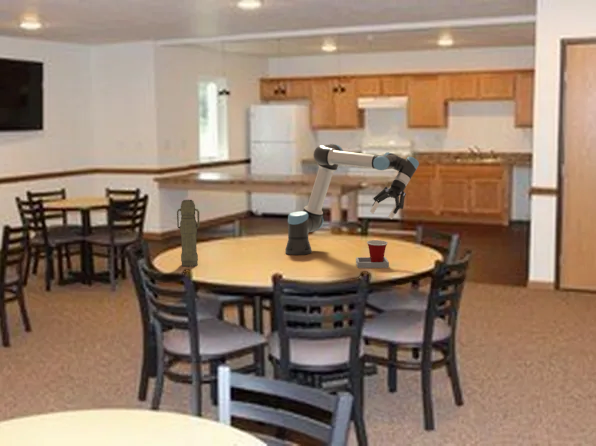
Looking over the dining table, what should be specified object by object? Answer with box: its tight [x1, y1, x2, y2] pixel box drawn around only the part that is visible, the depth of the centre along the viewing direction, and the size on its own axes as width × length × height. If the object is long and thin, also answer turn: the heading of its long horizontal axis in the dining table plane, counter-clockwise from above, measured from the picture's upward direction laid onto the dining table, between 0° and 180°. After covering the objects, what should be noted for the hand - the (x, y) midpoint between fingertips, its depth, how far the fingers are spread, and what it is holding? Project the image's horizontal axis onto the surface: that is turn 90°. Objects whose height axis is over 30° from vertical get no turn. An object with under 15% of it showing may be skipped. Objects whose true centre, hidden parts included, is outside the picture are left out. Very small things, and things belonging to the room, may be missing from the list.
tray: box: [355, 256, 390, 269], centre depth 422 cm, size 16×16×3 cm
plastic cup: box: [366, 239, 388, 262], centre depth 419 cm, size 11×11×12 cm
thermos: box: [176, 199, 200, 268], centre depth 426 cm, size 9×12×35 cm
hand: (380, 215), depth 429 cm, fingers open, 13 cm apart
